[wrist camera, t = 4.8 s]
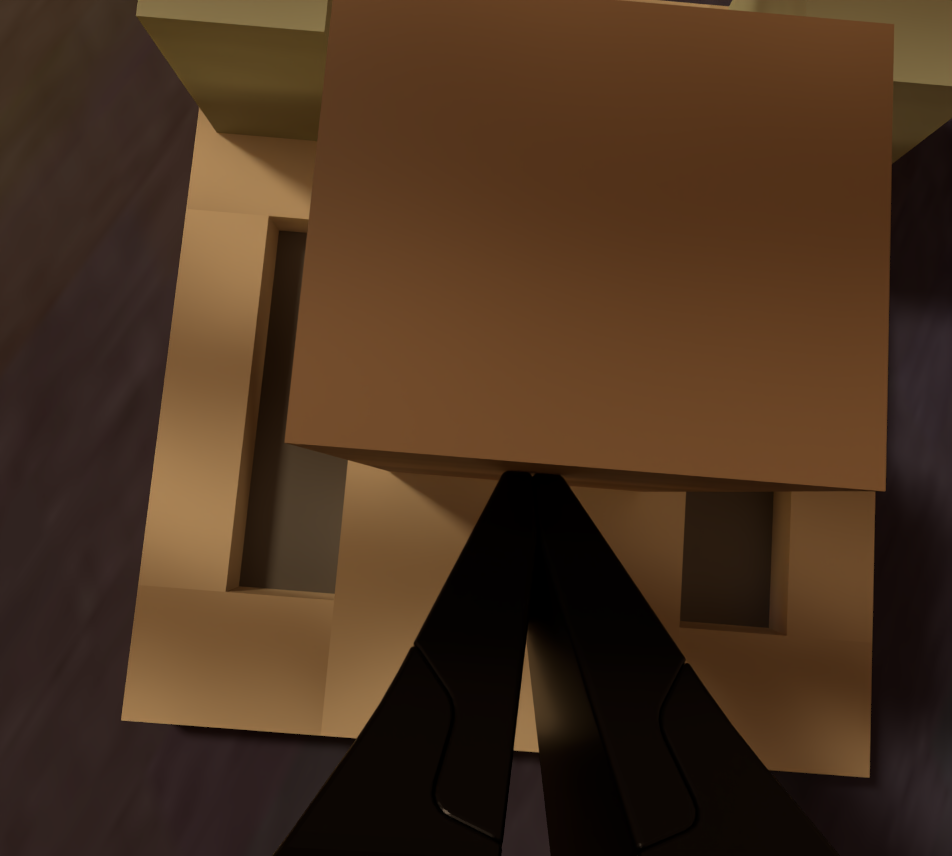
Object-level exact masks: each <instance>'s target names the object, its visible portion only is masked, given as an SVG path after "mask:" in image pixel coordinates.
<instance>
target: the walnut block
mask: <svg viewBox="0 0 952 856" xmlns="http://www.w3.org/2000/svg"><path fill="white" fill-rule="evenodd" d="M893 67H894V24H887V23H875V22H864V21H853V20H841V19H830V18H818V17H807V16H795V15H784V14H772V13H761V12H749V11H738V10H726V9H715V8H703V7H692V6H681V5H669V4H658V3H646V2H635V1H623V0H333V1H332V10H331V19H330V29H329V38H328V47H327V56H326V65H325V74H324V84H323V93H322V102H321V111H320V120H319V130H318V139H317V148H316V157H315V166H314V176H313V185H312V194H311V203H310V212H309V222H308V231H307V240H306V249H305V258H304V267H303V277H302V286H301V295H300V304H299V313H298V323H297V332H296V341H295V350H294V359H293V369H292V378H291V387H290V396H289V405H288V415H287V424H286V433H285V442H284V443H287V444H291V445H294V446H298V447H302V448H305V449H309V450H313V451H316V452H320V453H324V454H327V455H331V456H335V457H338V458H342V459H345V460H349V461H353V462H356V463H360V464H364V465H367V466H371V467H375V468H378V469H382V470H386V471H390V472H402V473H415V474H427V475H440V476H452V477H464V478H477V479H489V480H499V479H500V477H501V475H502V474H503V473H504V472H505V471H515V472H528V473H530V474H531V475H532V476H533V475H534V474H536V473H542V474H555V475H561V476H562V477H563V478H564V479H565V481H566V482H567V484H568V485H569V486H576V487H589V488H601V489H614V490H626V491H638V492H801V491H886V442H887V389H888V335H889V282H890V228H891V174H892V121H893Z"/></svg>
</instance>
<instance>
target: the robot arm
mask: <svg viewBox="0 0 952 856" xmlns="http://www.w3.org/2000/svg"><path fill="white" fill-rule="evenodd" d="M526 642H527V651H528V660H529V668H530V677H531V686H532V695H533V704H534V712H535V721H536V730H537V739H538V748H539V757H540V765H541V774H542V783H543V792H544V801H545V809H546V818H547V827H548V836H549V845H550V853H551V856H840V855H839V854H838V853H837V852H836V851H835V849H834V848H833V847H832V846H831V845H830V843H829V842H828V841H827V840H826V838H825V837H824V836H823V835H822V834H821V832H820V831H819V830H818V829H817V828H816V826H815V825H814V824H813V823H812V822H811V820H810V819H809V818H808V817H807V816H806V814H805V813H804V812H803V811H802V810H801V808H800V807H799V806H798V805H797V804H796V802H795V801H794V800H793V799H792V798H791V796H790V795H789V794H788V793H787V792H786V790H785V789H784V788H783V787H782V786H781V784H780V783H779V782H778V781H777V780H776V778H775V777H774V776H773V775H772V774H771V772H770V771H769V770H768V769H767V768H766V766H765V765H764V764H763V763H762V761H761V760H760V759H759V758H758V756H757V755H756V754H755V753H754V751H753V750H752V749H751V748H750V746H749V745H748V744H747V743H746V741H745V740H744V739H743V738H742V736H741V735H740V734H739V733H738V731H737V730H736V729H735V727H734V726H733V725H732V724H731V722H730V721H729V719H728V718H727V717H726V715H725V714H724V712H723V711H722V710H721V708H720V707H719V705H718V704H717V703H716V701H715V700H714V699H713V697H712V696H711V694H710V693H709V692H708V690H707V689H706V687H705V686H704V684H703V683H702V681H701V680H700V678H699V677H698V675H697V674H696V672H695V671H694V669H693V668H692V666H691V665H690V664H689V663H685V661H686V658H685V656H684V655H683V654H682V652H681V651H680V649H679V648H678V646H677V645H676V643H675V642H674V640H673V639H672V637H671V636H670V634H669V633H668V631H667V630H666V628H665V627H664V625H663V624H662V622H661V621H660V620H659V618H658V617H657V615H656V614H655V612H654V611H653V609H652V608H651V606H650V605H649V603H648V602H647V600H646V599H645V597H644V596H643V594H642V593H641V591H640V590H639V589H638V587H637V586H636V584H635V583H634V581H633V580H632V578H631V577H630V575H629V574H628V572H627V571H626V569H625V568H624V566H623V565H622V563H621V562H620V560H619V559H618V558H617V556H616V555H615V553H614V552H613V550H612V549H611V547H610V546H609V544H608V543H607V541H606V540H605V538H604V537H603V535H602V534H601V532H600V531H599V529H598V528H597V526H596V525H595V524H594V522H593V521H592V519H591V518H590V516H589V515H588V513H587V512H586V510H585V509H584V507H583V506H582V504H581V503H580V501H579V500H578V498H577V497H576V495H575V494H574V493H573V491H572V490H571V488H570V487H569V485H568V484H567V482H566V481H565V479H564V478H563V477H562V476H561V475H555V474H542V473H536V474H534V475H533V476H532V475H531V474H530V473H528V472H515V471H505V472H504V473H503V474H502V475H501V477H500V479H499V481H498V483H497V485H496V486H495V488H494V490H493V492H492V494H491V496H490V498H489V500H488V502H487V504H486V506H485V507H484V509H483V511H482V513H481V515H480V517H479V519H478V521H477V523H476V525H475V526H474V528H473V530H472V532H471V534H470V536H469V538H468V540H467V542H466V544H465V545H464V547H463V549H462V551H461V553H460V555H459V557H458V559H457V561H456V563H455V564H454V566H453V568H452V570H451V572H450V574H449V576H448V578H447V580H446V582H445V583H444V585H443V587H442V589H441V591H440V593H439V595H438V597H437V599H436V601H435V603H434V604H433V606H432V608H431V610H430V612H429V614H428V616H427V618H426V620H425V622H424V623H423V625H422V627H421V629H420V631H419V633H418V635H417V637H416V639H415V641H414V643H413V647H411V648H410V649H409V651H408V653H407V655H406V657H405V659H404V661H403V663H402V665H401V666H400V668H399V670H398V672H397V674H396V675H395V677H394V679H393V681H392V682H391V684H390V686H389V688H388V689H387V691H386V693H385V695H384V696H383V698H382V700H381V702H380V703H379V705H378V707H377V708H376V710H375V711H374V713H373V714H372V716H371V717H370V719H369V720H368V722H367V723H366V725H365V726H364V728H363V729H362V731H361V732H360V734H359V735H358V737H357V738H356V740H355V741H354V743H353V744H352V746H351V747H350V748H349V750H348V751H347V753H346V754H345V755H344V757H343V758H342V760H341V761H340V763H339V764H338V765H337V767H336V768H335V770H334V771H333V772H332V774H331V775H330V777H329V778H328V779H327V781H326V782H325V784H324V785H323V786H322V788H321V789H320V791H319V792H318V794H317V795H316V796H315V798H314V799H313V801H312V802H311V803H310V805H309V806H308V808H307V809H306V810H305V812H304V813H303V815H302V816H301V817H300V819H299V820H298V822H297V823H296V825H295V826H294V827H293V829H292V830H291V832H290V833H289V834H288V836H287V837H286V838H285V840H284V841H283V842H282V844H281V845H280V846H279V848H278V849H277V850H276V851H275V853H274V854H273V855H272V856H501V853H502V848H501V847H502V843H503V836H504V827H505V819H506V810H507V802H508V793H509V785H510V776H511V768H512V759H513V751H514V742H515V734H516V725H517V716H518V708H519V699H520V691H521V682H522V674H523V665H524V657H525V648H526ZM684 663H685V664H684Z"/></svg>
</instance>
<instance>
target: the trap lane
mask: <svg viewBox="0 0 952 856" xmlns="http://www.w3.org/2000/svg"><path fill="white" fill-rule="evenodd" d="M332 1H333V0H138V5H137V12H136V16H137V18H138V19H139V21H140V22H141V24H142V25H143V27H144V28H145V29H146V31H147V32H148V34H149V35H150V37H151V38H152V40H153V41H154V42H155V44H156V45H157V47H158V48H159V50H160V51H161V53H162V54H163V56H164V57H165V58H166V60H167V61H168V63H169V64H170V66H171V67H172V69H173V70H174V71H175V73H176V74H177V76H178V77H179V79H180V80H181V82H182V83H183V85H184V86H185V87H186V89H187V90H188V92H189V93H190V95H191V96H192V98H193V99H194V100H195V102H196V103H197V105H198V106H199V114H198V122H197V130H196V138H195V146H194V154H193V161H192V169H191V177H190V185H189V193H188V201H187V208H186V216H185V224H184V232H183V240H182V248H181V255H180V263H179V271H178V279H177V287H176V295H175V302H174V310H173V318H172V326H171V334H170V342H169V349H168V357H167V365H166V373H165V381H164V389H163V396H162V404H161V412H160V420H159V428H158V435H157V443H156V451H155V459H154V467H153V475H152V482H151V490H150V498H149V506H148V514H147V522H146V529H145V537H144V545H143V553H142V561H141V569H140V576H139V584H138V592H137V600H136V608H135V616H134V623H133V631H132V639H131V647H130V655H129V663H128V670H127V678H126V686H125V694H124V702H123V710H122V717H121V720H124V721H137V722H150V723H163V724H176V725H189V726H202V727H215V728H228V729H241V730H254V731H267V732H280V733H293V734H306V735H319V736H332V737H345V738H357V737H358V735H359V734H360V732H361V731H362V729H363V728H364V726H365V725H366V723H367V722H368V720H369V719H370V717H371V716H372V714H373V713H374V711H375V710H376V708H377V707H378V705H379V703H380V702H381V700H382V698H383V696H384V695H385V693H386V691H387V689H388V688H389V686H390V684H391V682H392V681H393V679H394V677H395V675H396V674H397V672H398V670H399V668H400V666H401V665H402V663H403V661H404V659H405V657H406V655H407V653H408V651H409V649H410V648H411V647H413V643H414V641H415V639H416V637H417V635H418V633H419V631H420V629H421V627H422V625H423V623H424V622H425V620H426V618H427V616H428V614H429V612H430V610H431V608H432V606H433V604H434V603H435V601H436V599H437V597H438V595H439V593H440V591H441V589H442V587H443V585H444V583H445V582H446V580H447V578H448V576H449V574H450V572H451V570H452V568H453V566H454V564H455V563H456V561H457V559H458V557H459V555H460V553H461V551H462V549H463V547H464V545H465V544H466V542H467V540H468V538H469V536H470V534H471V532H472V530H473V528H474V526H475V525H476V523H477V521H478V519H479V517H480V515H481V513H482V511H483V509H484V507H485V506H486V504H487V502H488V500H489V498H490V496H491V494H492V492H493V490H494V488H495V486H496V485H497V483H498V481H499V480H489V479H477V478H464V477H452V476H440V475H427V474H415V473H402V472H390V471H386V470H382V469H378V468H375V467H371V466H367V465H364V464H360V463H356V462H353V461H349V460H345V459H342V458H338V457H335V456H331V455H327V454H324V453H320V452H316V451H313V450H309V449H305V448H302V447H298V446H294V445H291V444H287V443H284V442H285V433H286V424H287V415H288V405H289V396H290V387H291V378H292V369H293V359H294V350H295V341H296V332H297V323H298V313H299V304H300V295H301V286H302V277H303V267H304V258H305V249H306V240H307V231H308V222H309V212H310V203H311V194H312V185H313V176H314V166H315V157H316V148H317V139H318V130H319V120H320V111H321V102H322V93H323V84H324V74H325V65H326V56H327V47H328V38H329V29H330V19H331V10H332ZM623 1H635V2H646V3H658V4H669V5H681V6H692V7H703V8H715V9H726V10H738V11H749V12H761V13H772V14H784V15H795V16H807V17H818V18H830V19H841V20H853V21H864V22H875V23H887V24H894V67H893V121H892V164H893V163H894V162H895V161H896V160H898V159H899V158H900V157H902V156H903V155H904V154H906V153H907V152H908V151H910V150H911V149H912V148H913V147H915V146H916V145H917V144H919V143H920V142H921V141H923V140H924V139H925V138H926V137H928V136H929V135H930V134H932V133H933V132H934V131H936V130H937V129H938V128H939V127H941V126H942V125H943V124H945V123H946V122H947V121H949V120H950V119H951V118H952V0H732V2H731V4H730V6H729V7H728V6H716V5H705V4H693V3H682V2H670V1H659V0H623ZM569 487H570V488H571V490H572V491H573V493H574V494H575V495H576V497H577V498H578V500H579V501H580V503H581V504H582V506H583V507H584V509H585V510H586V512H587V513H588V515H589V516H590V518H591V519H592V521H593V522H594V524H595V525H596V526H597V528H598V529H599V531H600V532H601V534H602V535H603V537H604V538H605V540H606V541H607V543H608V544H609V546H610V547H611V549H612V550H613V552H614V553H615V555H616V556H617V558H618V559H619V560H620V562H621V563H622V565H623V566H624V568H625V569H626V571H627V572H628V574H629V575H630V577H631V578H632V580H633V581H634V583H635V584H636V586H637V587H638V589H639V590H640V591H641V593H642V594H643V596H644V597H645V599H646V600H647V602H648V603H649V605H650V606H651V608H652V609H653V611H654V612H655V614H656V615H657V617H658V618H659V620H660V621H661V622H662V624H663V625H664V627H665V628H666V630H667V631H668V633H669V634H670V636H671V637H672V639H673V640H674V642H675V643H676V645H677V646H678V648H679V649H680V651H681V652H682V654H683V655H684V656H685V658H686V661H685V663H689V664H690V665H691V666H692V668H693V669H694V671H695V672H696V674H697V675H698V677H699V678H700V680H701V681H702V683H703V684H704V686H705V687H706V689H707V690H708V692H709V693H710V694H711V696H712V697H713V699H714V700H715V701H716V703H717V704H718V705H719V707H720V708H721V710H722V711H723V712H724V714H725V715H726V717H727V718H728V719H729V721H730V722H731V724H732V725H733V726H734V727H735V729H736V730H737V731H738V733H739V734H740V735H741V736H742V738H743V739H744V740H745V741H746V743H747V744H748V745H749V746H750V748H751V749H752V750H753V751H754V753H755V754H756V755H757V756H758V758H759V759H760V760H761V761H762V763H763V764H764V765H765V766H766V768H767V769H768V770H775V771H788V772H801V773H814V774H827V775H840V776H854V777H867V778H870V730H871V681H872V632H873V583H874V533H875V491H801V492H638V491H626V490H614V489H601V488H589V487H576V486H569ZM685 663H684V664H685ZM514 750H515V751H528V752H539V748H538V739H537V730H536V721H535V712H534V704H533V695H532V686H531V677H530V668H529V660H528V651H527V642H526V648H525V657H524V665H523V674H522V682H521V691H520V699H519V708H518V716H517V725H516V734H515V742H514Z"/></svg>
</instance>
